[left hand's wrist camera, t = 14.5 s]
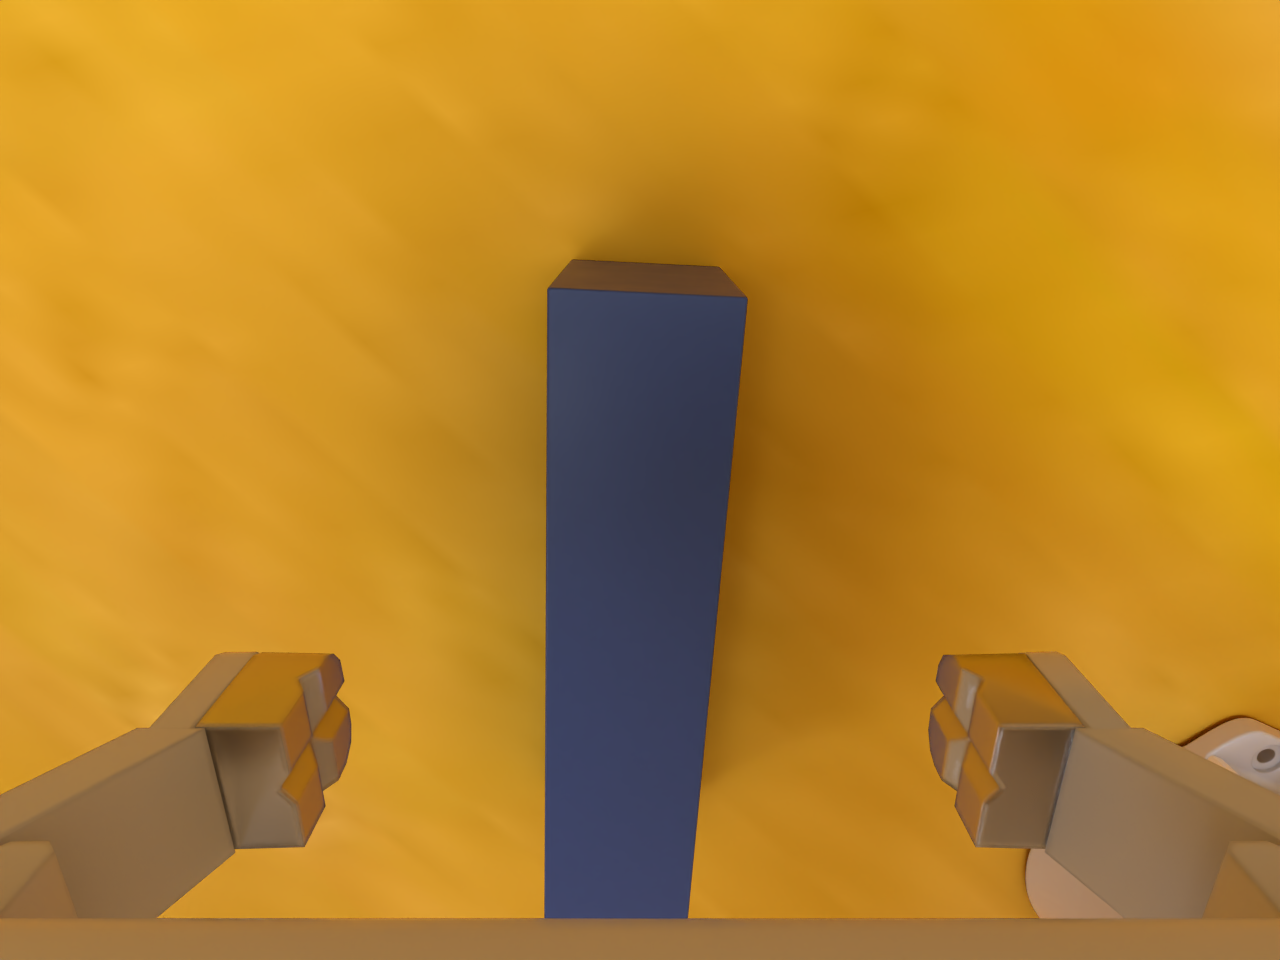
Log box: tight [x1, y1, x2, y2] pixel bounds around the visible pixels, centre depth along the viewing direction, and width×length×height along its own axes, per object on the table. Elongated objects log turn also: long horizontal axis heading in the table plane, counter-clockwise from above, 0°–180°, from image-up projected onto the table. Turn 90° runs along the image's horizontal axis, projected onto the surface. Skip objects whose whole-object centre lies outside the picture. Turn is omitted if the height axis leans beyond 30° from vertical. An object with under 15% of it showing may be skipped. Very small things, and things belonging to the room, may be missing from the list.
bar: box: [544, 260, 748, 919], centre depth 32 cm, size 27×6×9 cm, turn 177°
